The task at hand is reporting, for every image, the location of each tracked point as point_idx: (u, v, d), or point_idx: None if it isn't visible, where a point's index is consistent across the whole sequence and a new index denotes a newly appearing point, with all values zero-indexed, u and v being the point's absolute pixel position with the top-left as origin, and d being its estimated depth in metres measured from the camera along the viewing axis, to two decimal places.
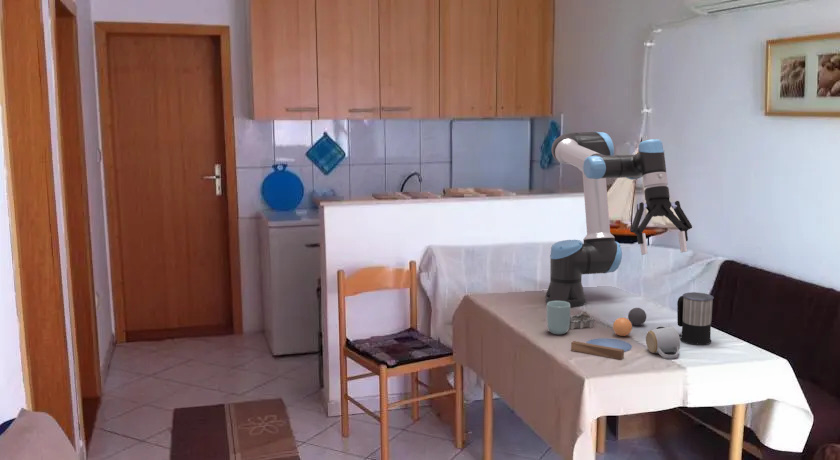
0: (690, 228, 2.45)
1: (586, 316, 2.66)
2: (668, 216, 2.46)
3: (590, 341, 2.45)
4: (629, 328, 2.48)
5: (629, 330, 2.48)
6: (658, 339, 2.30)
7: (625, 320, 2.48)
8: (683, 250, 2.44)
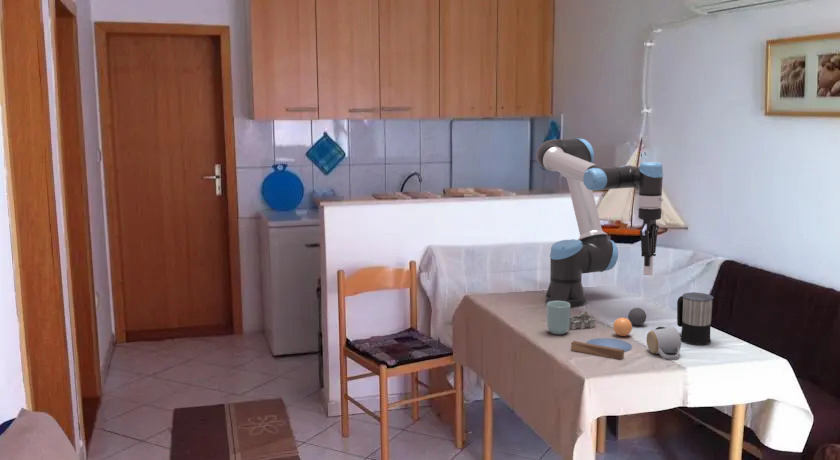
0: (654, 252, 2.67)
1: (587, 316, 2.65)
2: None
3: (590, 341, 2.45)
4: (629, 328, 2.48)
5: (629, 330, 2.48)
6: (658, 340, 2.29)
7: (625, 320, 2.48)
8: None
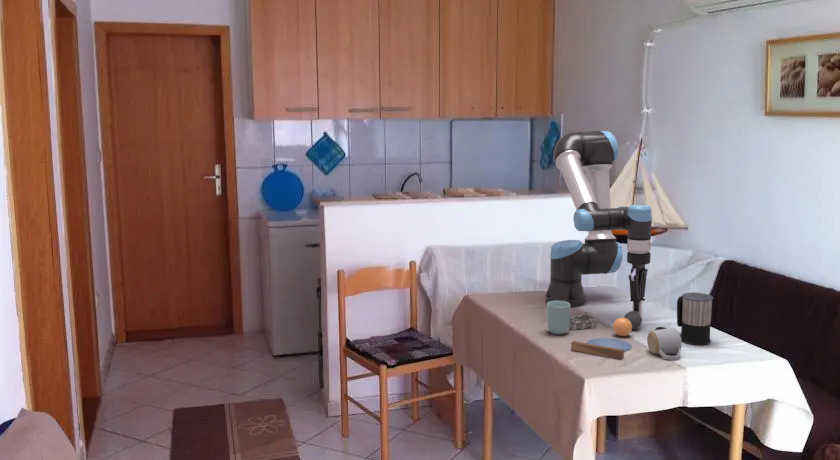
0: (643, 297, 2.61)
1: (587, 317, 2.65)
2: None
3: (590, 341, 2.45)
4: (629, 328, 2.48)
5: (629, 330, 2.48)
6: (659, 340, 2.29)
7: (625, 320, 2.48)
8: None
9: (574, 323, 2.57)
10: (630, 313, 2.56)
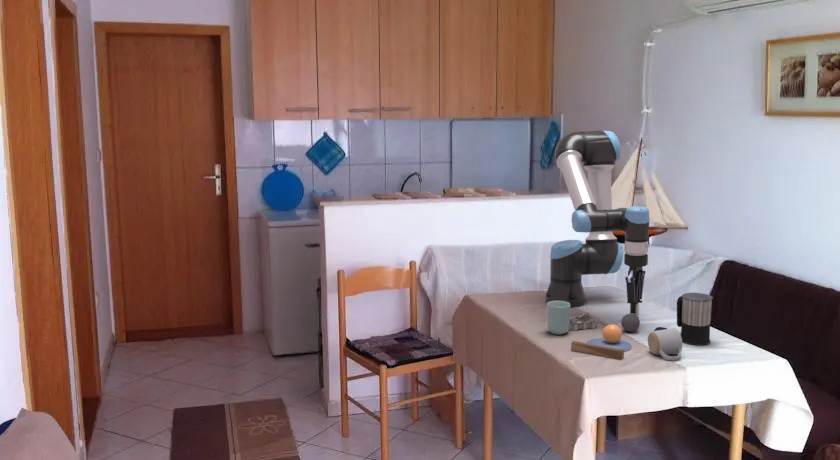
0: None
1: (588, 317, 2.65)
2: None
3: (590, 341, 2.45)
4: (621, 335, 2.42)
5: (621, 333, 2.42)
6: (660, 341, 2.28)
7: None
8: None
9: (575, 323, 2.57)
10: (626, 323, 2.52)
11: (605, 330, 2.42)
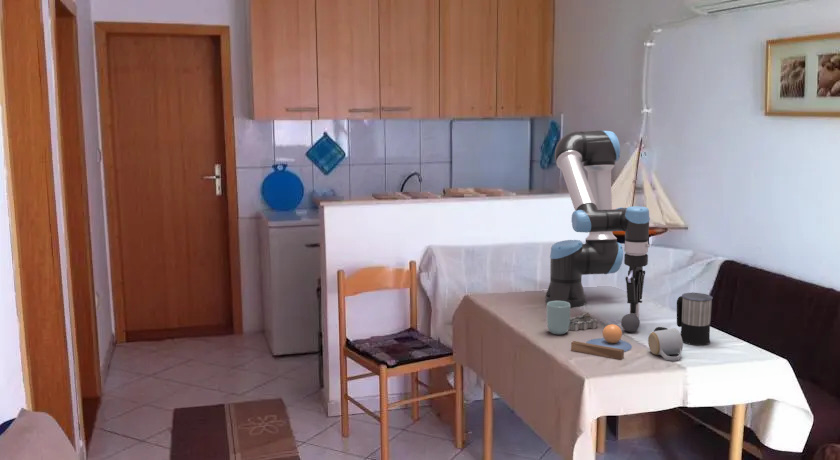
0: None
1: (588, 317, 2.64)
2: None
3: (590, 341, 2.45)
4: (621, 335, 2.42)
5: (621, 333, 2.42)
6: (660, 341, 2.28)
7: None
8: None
9: (576, 324, 2.57)
10: (626, 323, 2.52)
11: (605, 330, 2.42)
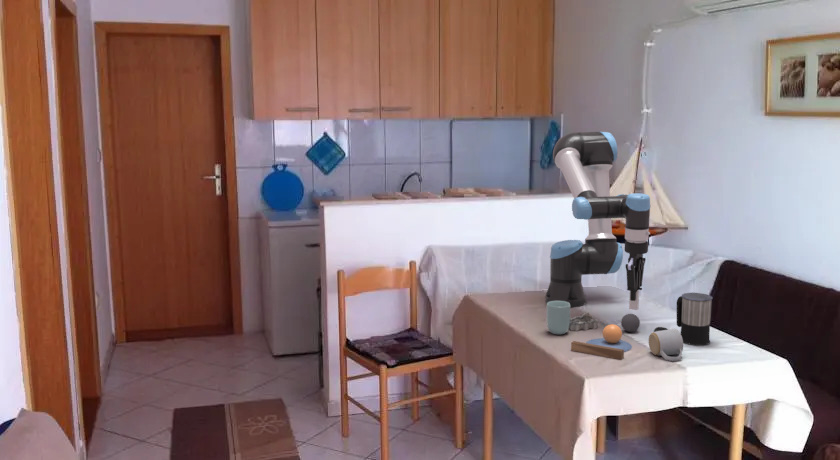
0: (640, 286, 2.59)
1: (588, 317, 2.64)
2: None
3: (590, 341, 2.45)
4: (621, 335, 2.42)
5: (621, 333, 2.42)
6: (661, 341, 2.28)
7: None
8: None
9: (577, 324, 2.57)
10: (626, 323, 2.52)
11: (605, 330, 2.42)
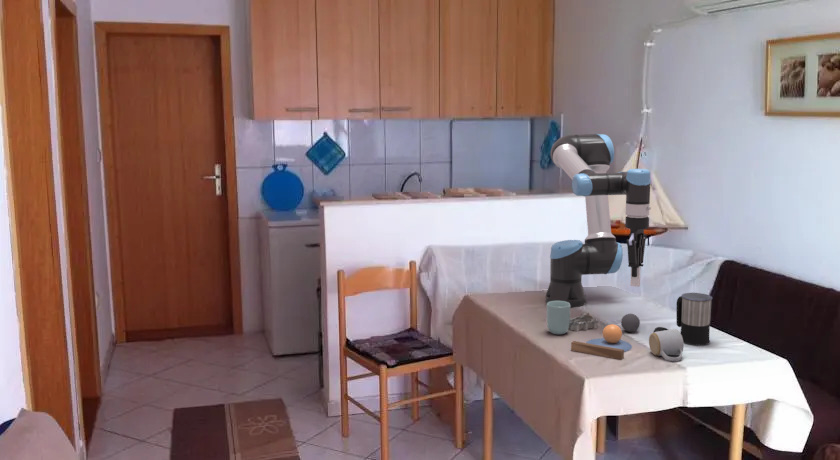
0: None
1: (589, 317, 2.64)
2: None
3: (590, 341, 2.45)
4: (621, 335, 2.42)
5: (621, 333, 2.42)
6: (661, 341, 2.28)
7: None
8: None
9: (577, 324, 2.56)
10: (626, 323, 2.52)
11: (605, 330, 2.42)
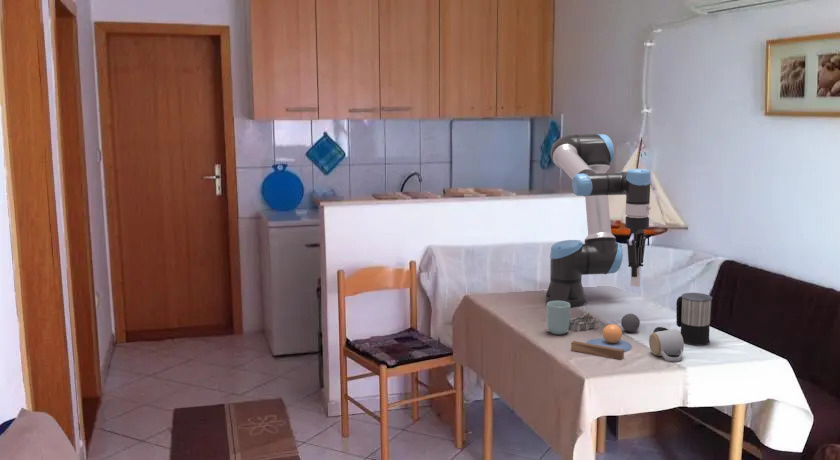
0: None
1: (589, 317, 2.64)
2: None
3: (590, 341, 2.45)
4: (621, 335, 2.42)
5: (621, 333, 2.42)
6: (661, 342, 2.27)
7: None
8: None
9: (578, 324, 2.56)
10: (626, 323, 2.52)
11: (605, 330, 2.42)
